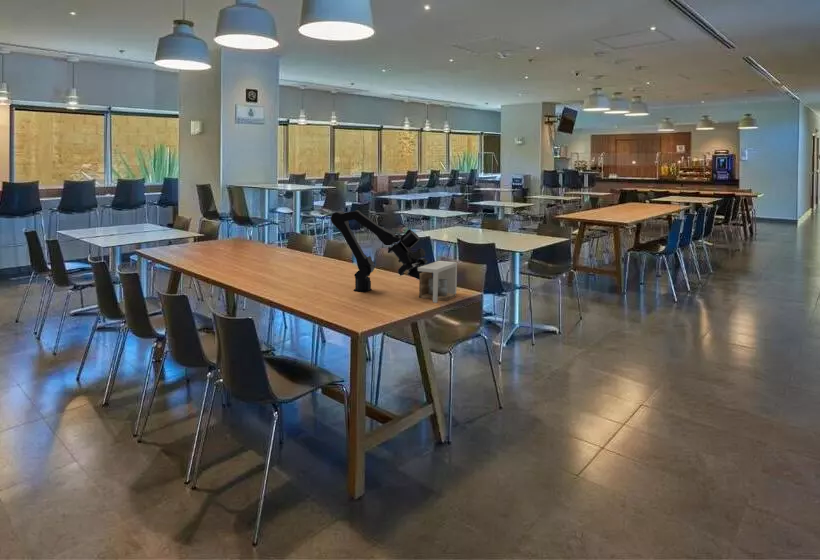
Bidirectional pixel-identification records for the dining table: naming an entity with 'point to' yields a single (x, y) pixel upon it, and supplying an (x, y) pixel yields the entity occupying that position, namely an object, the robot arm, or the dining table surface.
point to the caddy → (427, 287)
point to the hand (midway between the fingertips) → (424, 280)
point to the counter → (442, 275)
